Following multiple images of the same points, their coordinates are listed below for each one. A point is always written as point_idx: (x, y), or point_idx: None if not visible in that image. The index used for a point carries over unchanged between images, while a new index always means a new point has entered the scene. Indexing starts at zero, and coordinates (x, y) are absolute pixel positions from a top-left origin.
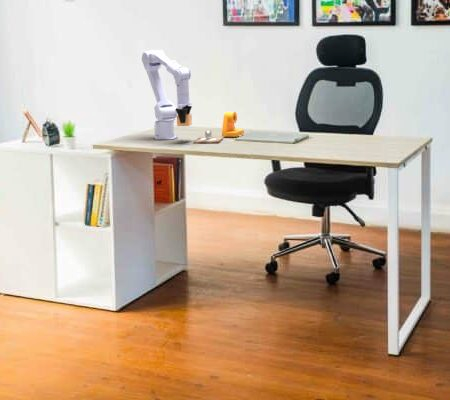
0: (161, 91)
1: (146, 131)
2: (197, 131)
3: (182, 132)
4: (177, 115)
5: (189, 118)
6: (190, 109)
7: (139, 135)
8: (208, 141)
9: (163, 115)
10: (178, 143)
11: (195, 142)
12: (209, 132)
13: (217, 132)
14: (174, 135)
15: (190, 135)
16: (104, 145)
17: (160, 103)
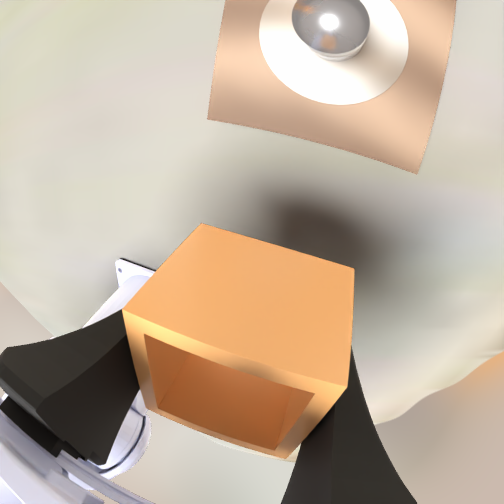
0: (7, 498)
1: (47, 328)
2: (5, 167)
3: (27, 226)
4: (266, 452)
5: (292, 321)
6: (49, 355)
7: None
8: (445, 49)
9: (136, 435)
10: (354, 270)
11: (420, 155)
12: (363, 9)
13: (16, 66)
14: (145, 282)
15: (72, 188)
16: (290, 458)
17: (76, 482)
